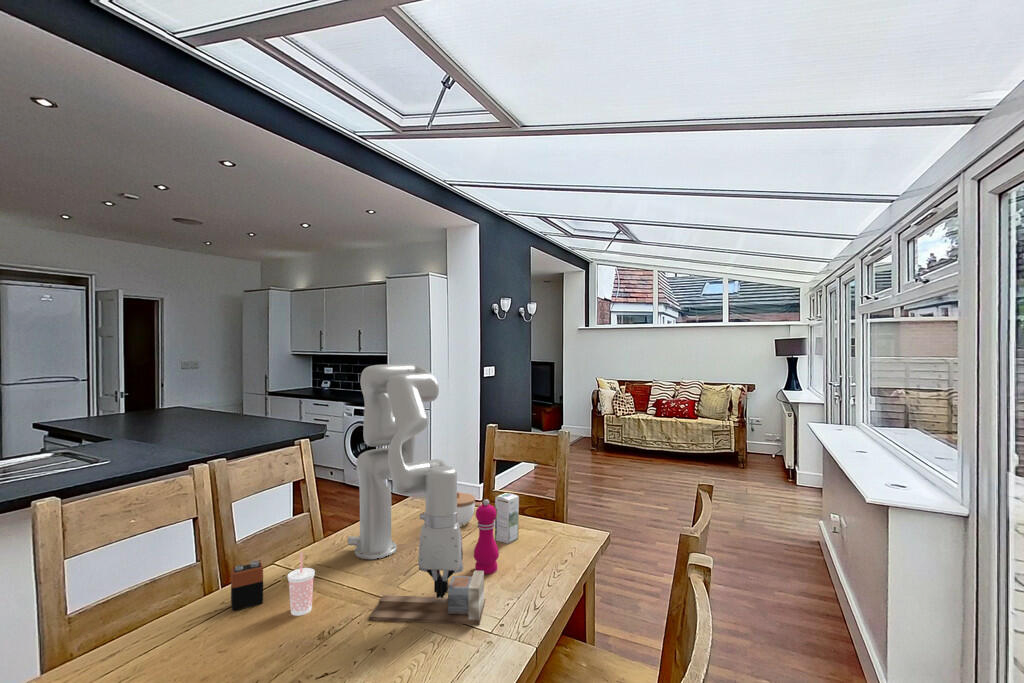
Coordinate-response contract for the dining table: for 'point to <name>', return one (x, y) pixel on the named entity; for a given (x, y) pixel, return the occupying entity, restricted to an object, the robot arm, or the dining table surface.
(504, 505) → the syrup box
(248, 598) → the battery
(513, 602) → the dining table surface
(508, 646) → the dining table surface
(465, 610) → the block
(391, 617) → the rail
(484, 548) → the pepper mill
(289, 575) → the beverage cup
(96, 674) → the dining table surface
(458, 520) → the lidded bowl
